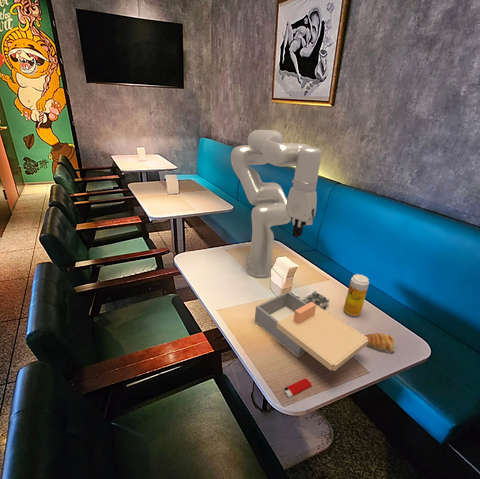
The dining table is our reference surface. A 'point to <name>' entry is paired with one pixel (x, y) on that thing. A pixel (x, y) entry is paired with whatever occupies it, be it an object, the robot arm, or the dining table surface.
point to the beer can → (356, 295)
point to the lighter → (297, 387)
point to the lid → (323, 335)
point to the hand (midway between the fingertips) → (296, 235)
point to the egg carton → (317, 299)
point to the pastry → (381, 342)
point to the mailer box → (279, 318)
